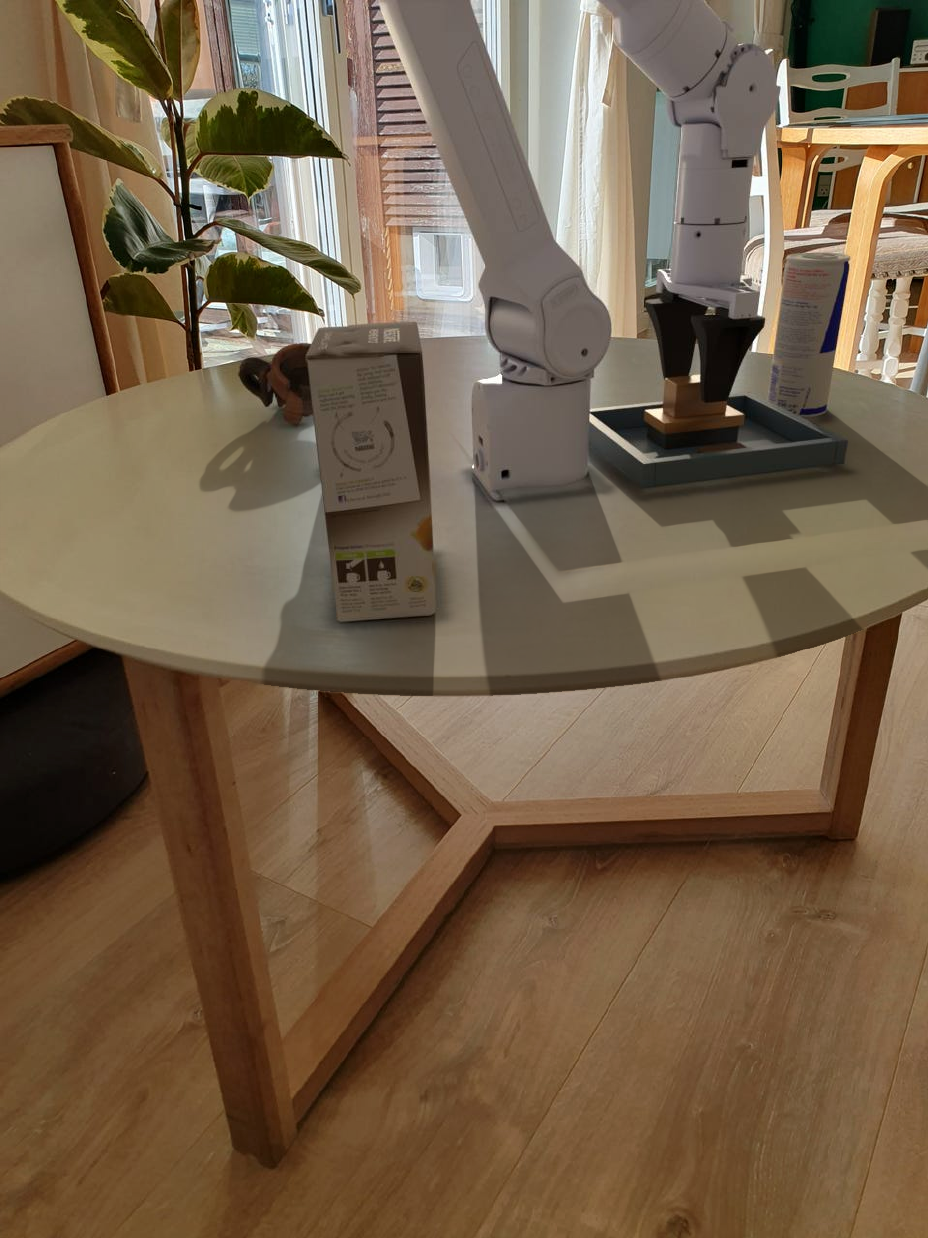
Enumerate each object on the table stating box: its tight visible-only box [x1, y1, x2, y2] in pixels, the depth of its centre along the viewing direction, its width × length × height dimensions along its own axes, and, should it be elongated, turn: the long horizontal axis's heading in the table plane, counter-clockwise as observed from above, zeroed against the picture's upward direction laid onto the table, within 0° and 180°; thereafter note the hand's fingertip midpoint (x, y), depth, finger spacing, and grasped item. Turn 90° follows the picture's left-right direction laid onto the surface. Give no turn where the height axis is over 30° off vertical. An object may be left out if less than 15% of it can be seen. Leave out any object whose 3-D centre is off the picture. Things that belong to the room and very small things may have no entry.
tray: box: [589, 391, 849, 490], centre depth 78 cm, size 18×16×3 cm
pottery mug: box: [237, 342, 313, 427], centre depth 93 cm, size 12×10×8 cm
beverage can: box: [766, 252, 851, 418], centre depth 84 cm, size 6×6×15 cm
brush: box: [644, 374, 745, 450], centre depth 78 cm, size 8×4×6 cm, turn 103°
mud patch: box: [697, 443, 748, 454], centre depth 74 cm, size 4×4×1 cm
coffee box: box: [305, 321, 437, 623], centre depth 54 cm, size 9×6×16 cm
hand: (694, 389), depth 78 cm, fingers open, 7 cm apart
